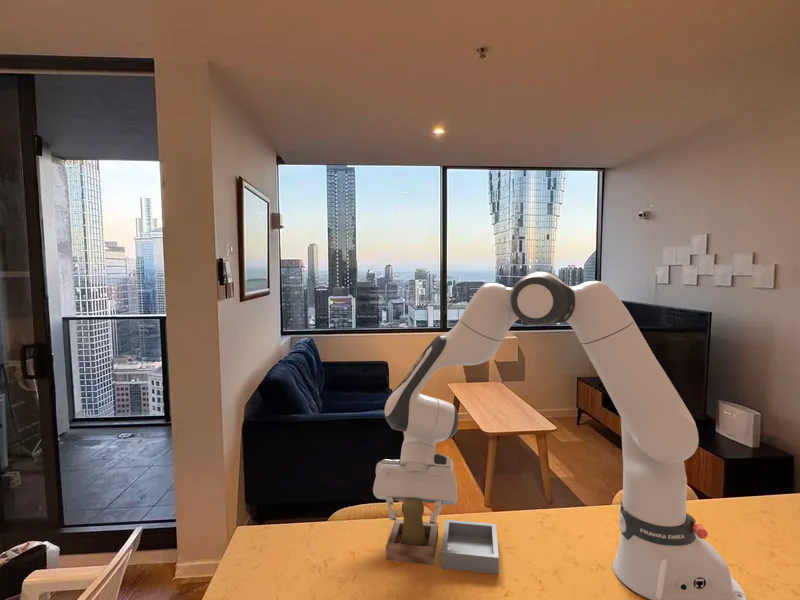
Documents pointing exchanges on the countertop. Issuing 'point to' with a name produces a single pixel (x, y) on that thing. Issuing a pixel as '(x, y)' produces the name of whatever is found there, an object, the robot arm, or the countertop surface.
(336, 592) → the countertop surface
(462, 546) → the slate tray
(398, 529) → the walnut holder
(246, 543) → the countertop surface
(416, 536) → the olive pawn
